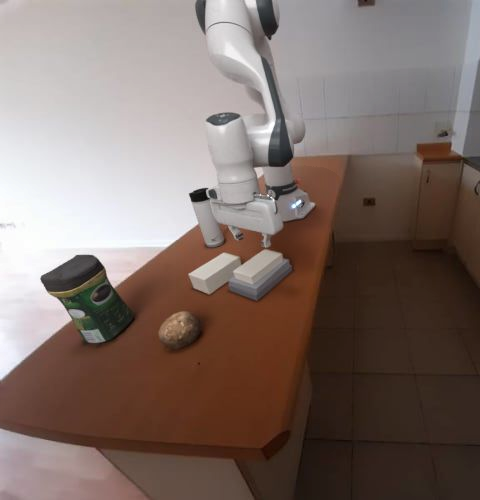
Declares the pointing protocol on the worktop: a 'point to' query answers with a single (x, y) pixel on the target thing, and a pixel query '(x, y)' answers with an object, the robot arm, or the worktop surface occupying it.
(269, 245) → the robot arm
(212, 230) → the travel mug
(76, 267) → the coffee jar
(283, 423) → the worktop surface
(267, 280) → the grey book
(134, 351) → the worktop surface
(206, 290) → the white book
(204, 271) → the white book
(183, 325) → the brown oval lump
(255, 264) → the cream flat block
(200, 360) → the worktop surface
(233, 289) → the grey book
